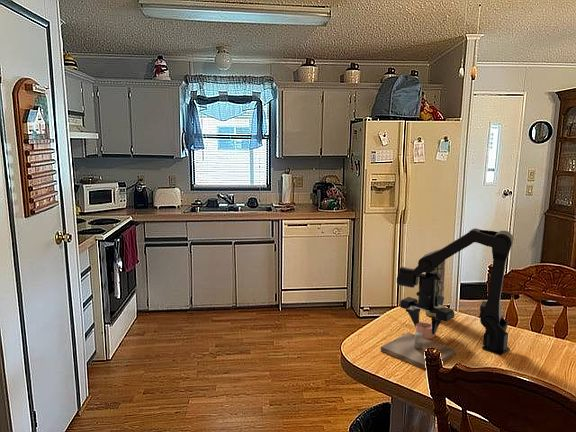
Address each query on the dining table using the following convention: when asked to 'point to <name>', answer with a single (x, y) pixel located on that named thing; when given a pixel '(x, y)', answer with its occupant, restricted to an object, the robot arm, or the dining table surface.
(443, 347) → the board
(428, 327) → the spool ring
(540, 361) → the dining table surface
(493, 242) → the robot arm
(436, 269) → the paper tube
